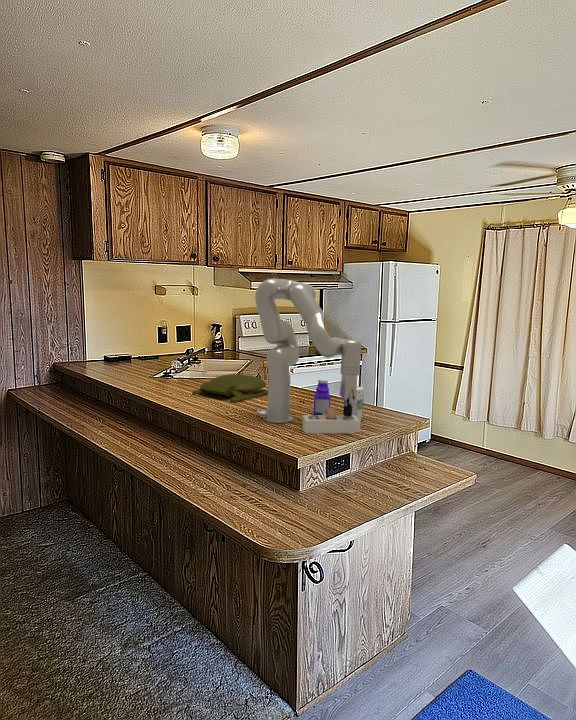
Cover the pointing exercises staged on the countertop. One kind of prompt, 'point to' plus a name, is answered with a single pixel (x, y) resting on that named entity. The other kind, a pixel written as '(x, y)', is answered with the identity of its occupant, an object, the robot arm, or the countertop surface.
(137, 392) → the countertop surface
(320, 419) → the block
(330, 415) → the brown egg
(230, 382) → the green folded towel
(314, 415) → the left grey plug
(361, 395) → the syrup box
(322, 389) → the bottle
